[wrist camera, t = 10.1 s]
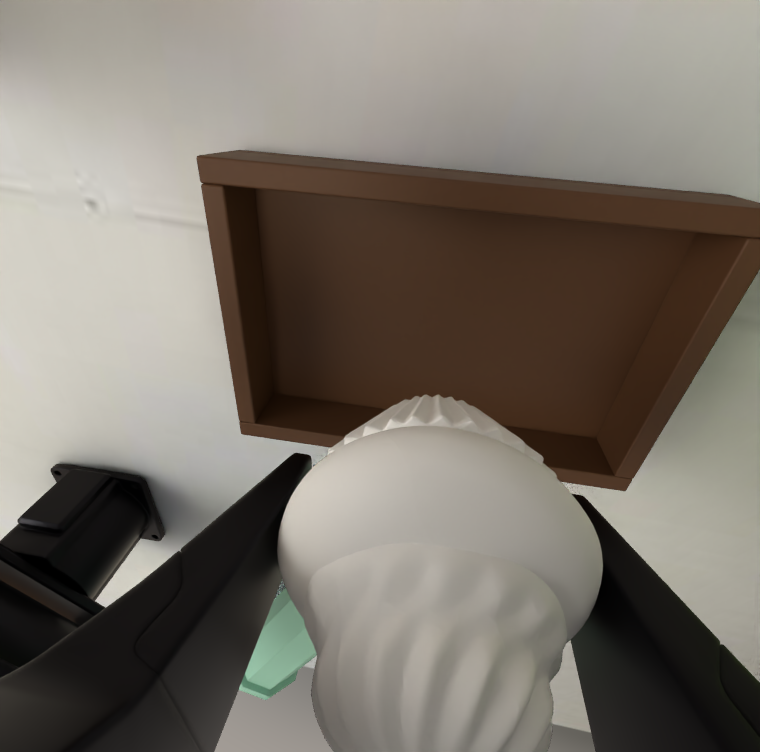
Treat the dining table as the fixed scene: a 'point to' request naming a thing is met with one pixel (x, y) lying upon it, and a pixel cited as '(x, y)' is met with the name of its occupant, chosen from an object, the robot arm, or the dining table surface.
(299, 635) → the container
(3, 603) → the robot arm
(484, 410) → the tray
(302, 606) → the white rounded ribbed piece
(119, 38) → the dining table surface
